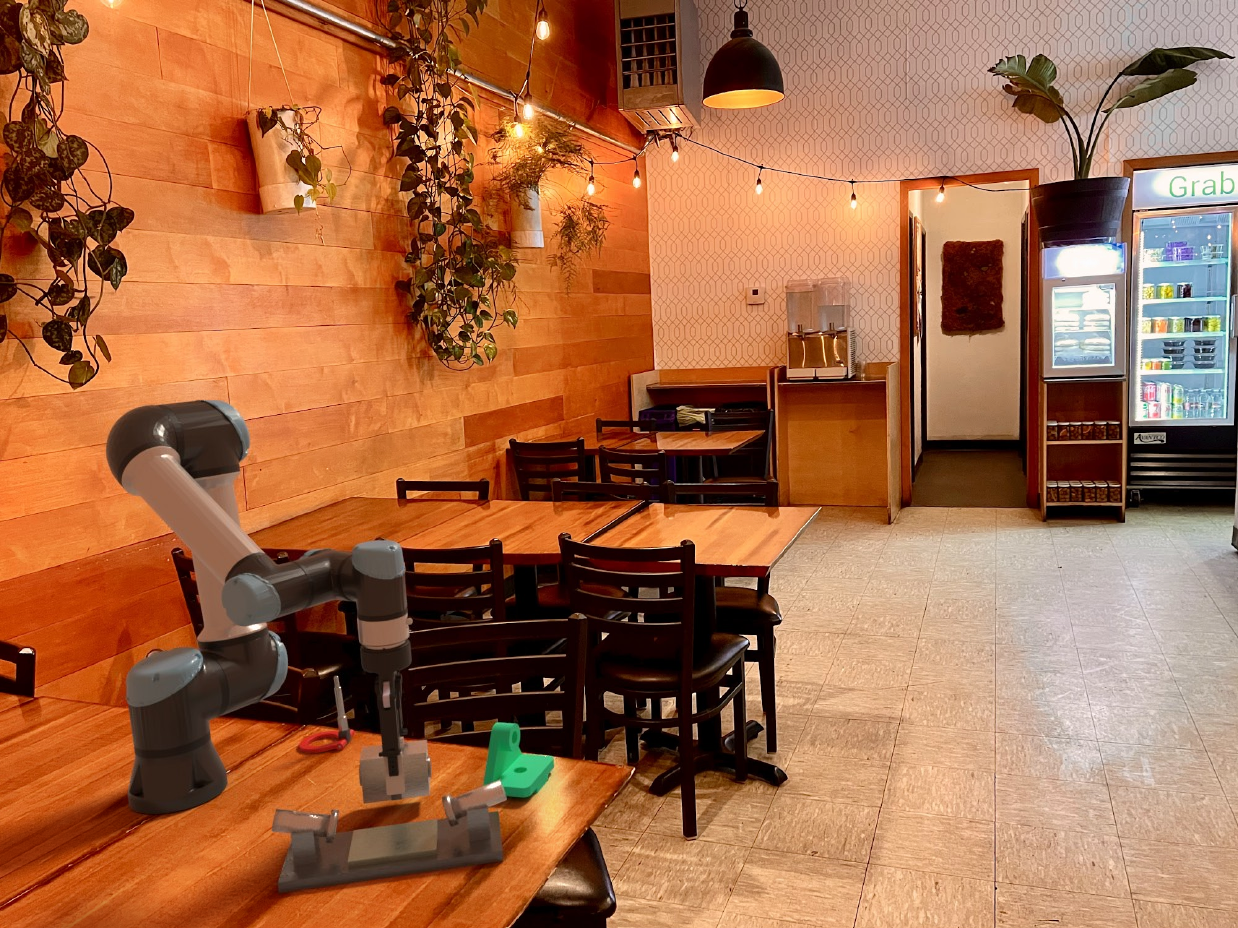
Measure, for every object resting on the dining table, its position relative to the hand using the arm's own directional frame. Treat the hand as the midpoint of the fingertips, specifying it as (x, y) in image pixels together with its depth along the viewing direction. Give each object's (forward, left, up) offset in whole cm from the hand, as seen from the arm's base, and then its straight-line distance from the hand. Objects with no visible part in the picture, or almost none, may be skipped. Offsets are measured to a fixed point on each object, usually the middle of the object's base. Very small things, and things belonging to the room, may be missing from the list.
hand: (396, 784), depth 155 cm
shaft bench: (0, -15, -4) cm, 16 cm away
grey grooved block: (0, 0, -1) cm, 1 cm away
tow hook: (-15, +30, -4) cm, 33 cm away
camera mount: (+19, +2, -4) cm, 20 cm away
